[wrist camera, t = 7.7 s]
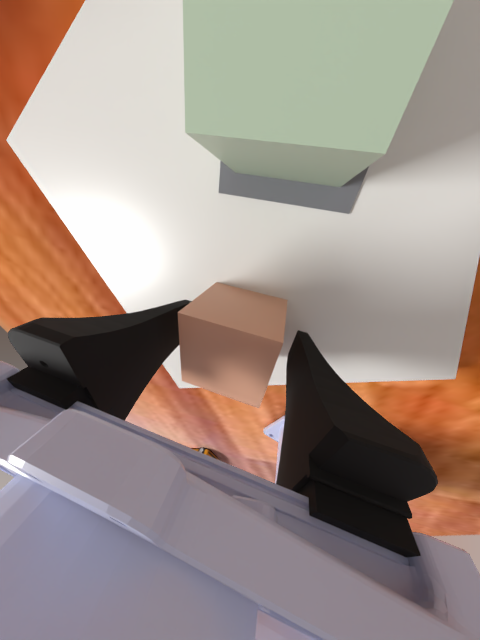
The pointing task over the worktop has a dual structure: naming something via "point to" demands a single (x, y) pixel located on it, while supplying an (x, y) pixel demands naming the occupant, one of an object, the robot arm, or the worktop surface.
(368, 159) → the green brick
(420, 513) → the worktop surface
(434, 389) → the worktop surface
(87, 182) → the baseplate
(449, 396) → the worktop surface
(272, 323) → the terracotta brick
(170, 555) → the robot arm
